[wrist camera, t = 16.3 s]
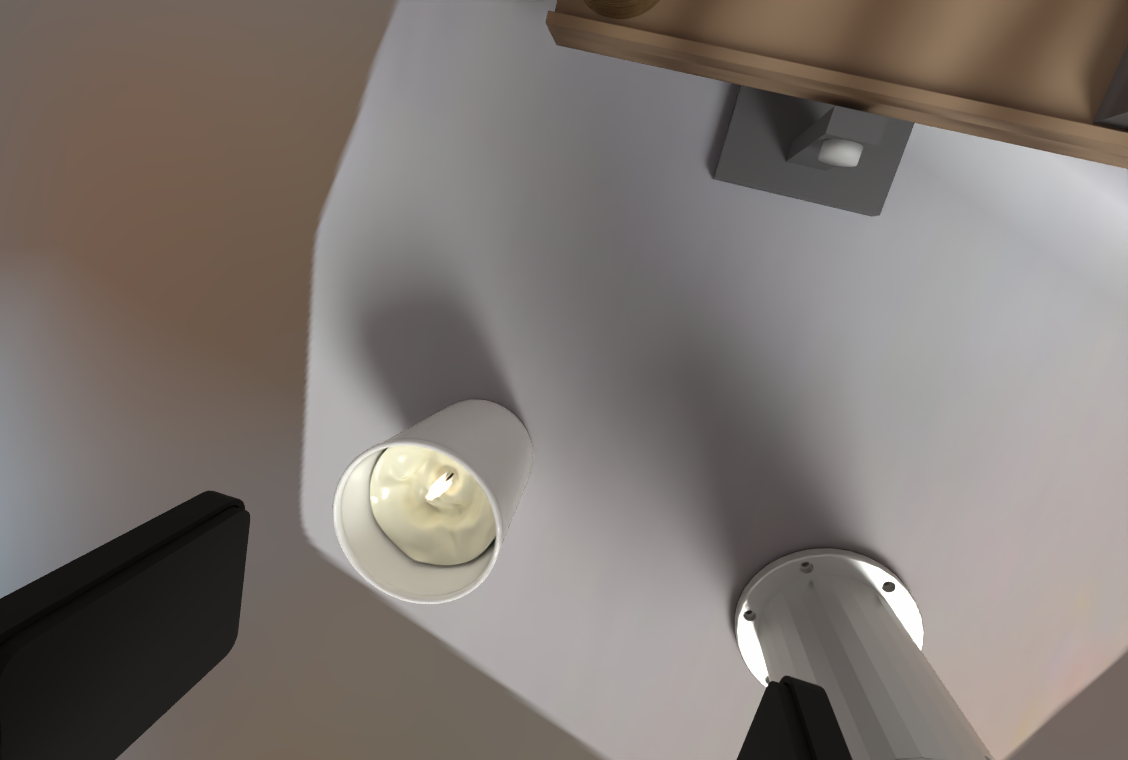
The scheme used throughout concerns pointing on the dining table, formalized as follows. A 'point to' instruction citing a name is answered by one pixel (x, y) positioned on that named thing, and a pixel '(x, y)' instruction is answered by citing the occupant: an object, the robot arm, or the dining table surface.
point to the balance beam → (900, 60)
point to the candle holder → (434, 502)
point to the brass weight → (620, 7)
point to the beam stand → (812, 150)
